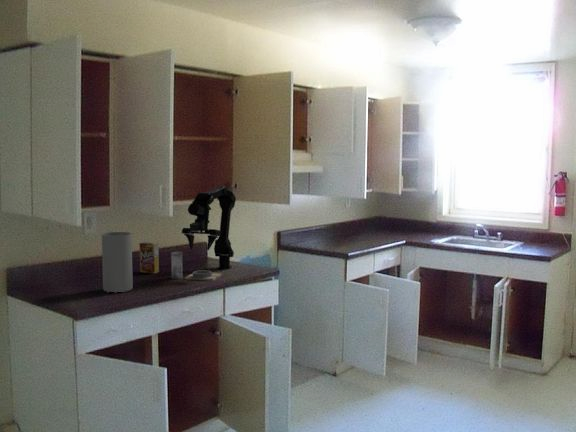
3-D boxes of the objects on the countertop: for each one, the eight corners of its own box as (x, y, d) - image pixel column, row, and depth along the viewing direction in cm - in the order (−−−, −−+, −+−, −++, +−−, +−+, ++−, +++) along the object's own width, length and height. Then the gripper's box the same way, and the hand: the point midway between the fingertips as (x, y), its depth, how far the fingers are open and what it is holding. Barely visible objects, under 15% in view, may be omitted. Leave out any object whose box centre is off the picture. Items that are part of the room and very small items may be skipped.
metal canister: (174, 276, 287) (173, 251, 285) (184, 277, 286) (184, 251, 284) (169, 278, 281) (169, 253, 280) (180, 279, 280) (179, 253, 279)
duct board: (195, 273, 294) (195, 271, 294) (222, 275, 291) (222, 273, 291) (185, 279, 280) (185, 277, 280) (212, 280, 277) (212, 278, 277)
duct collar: (196, 273, 289) (196, 269, 288) (214, 274, 287) (214, 270, 286) (190, 277, 280) (190, 273, 280) (207, 278, 278) (207, 274, 278)
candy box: (139, 272, 296) (138, 242, 295) (144, 271, 300) (143, 241, 299) (154, 273, 293) (153, 243, 292) (159, 272, 297) (158, 242, 296)
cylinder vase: (101, 288, 260) (99, 232, 258) (129, 285, 266) (128, 231, 263) (105, 294, 249) (104, 236, 247) (135, 291, 255) (134, 234, 252)
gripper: (177, 214, 281) (174, 247, 279) (212, 216, 274) (209, 249, 272) (189, 217, 291) (185, 249, 289) (222, 219, 285) (219, 251, 283)
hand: (199, 249), depth 283 cm, fingers open, 9 cm apart
